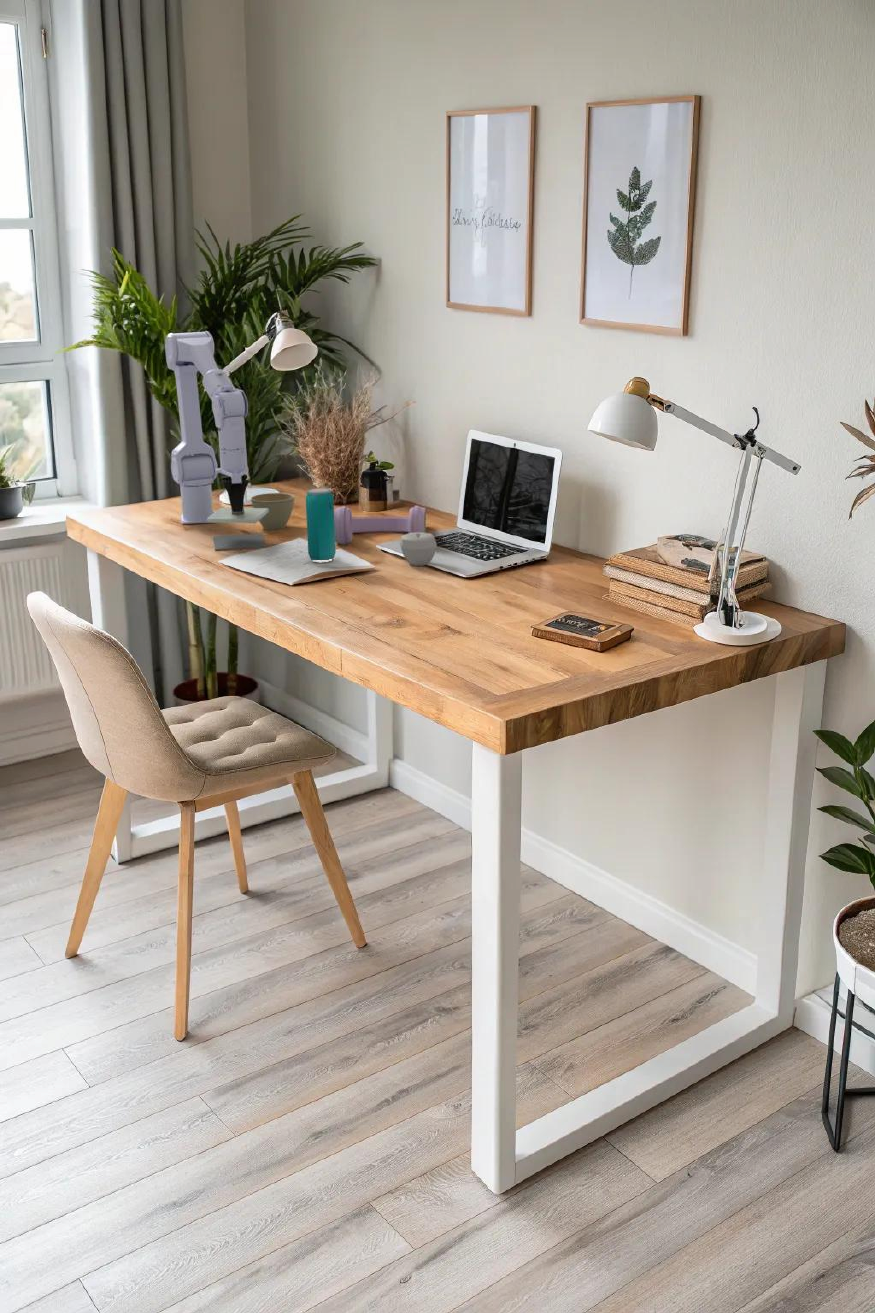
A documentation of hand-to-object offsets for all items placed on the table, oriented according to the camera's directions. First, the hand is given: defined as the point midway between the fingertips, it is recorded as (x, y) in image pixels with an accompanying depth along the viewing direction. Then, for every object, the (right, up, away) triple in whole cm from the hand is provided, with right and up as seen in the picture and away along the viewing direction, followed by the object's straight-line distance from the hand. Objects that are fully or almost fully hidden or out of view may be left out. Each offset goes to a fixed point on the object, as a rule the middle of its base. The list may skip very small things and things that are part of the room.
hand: (236, 509), depth 275 cm
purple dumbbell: (+32, -6, +7) cm, 33 cm away
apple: (+40, -13, -16) cm, 45 cm away
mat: (0, -7, +2) cm, 8 cm away
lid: (0, -2, +1) cm, 2 cm away
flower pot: (+6, -2, +16) cm, 18 cm away
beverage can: (+20, -12, -13) cm, 27 cm away
